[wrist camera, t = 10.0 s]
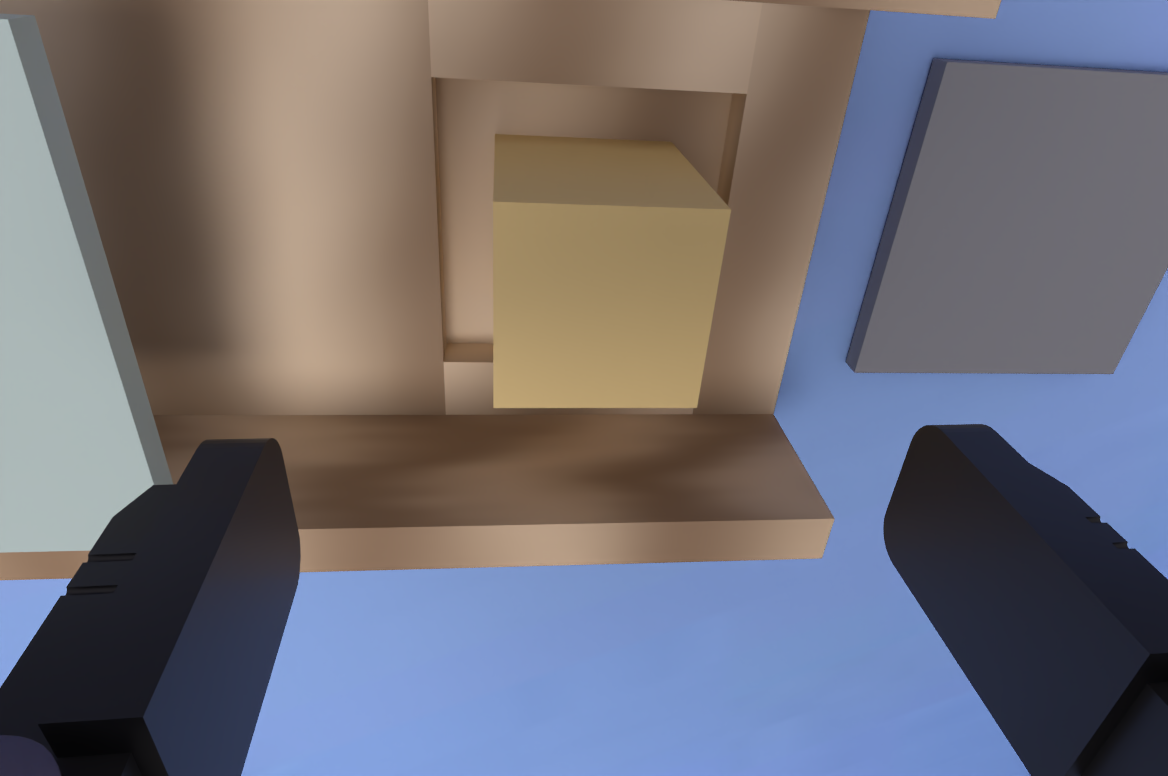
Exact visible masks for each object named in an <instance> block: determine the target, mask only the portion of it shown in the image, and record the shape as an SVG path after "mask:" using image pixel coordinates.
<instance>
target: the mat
mask: <svg viewBox="0 0 1168 776" xmlns="http://www.w3.org/2000/svg"><path fill="white" fill-rule="evenodd" d="M1167 268H1168V73H1166V72H1150V71H1134V70H1117V69H1101V68H1084V67H1068V66H1051V65H1035V64H1018V63H1002V62H986V61H969V60H953V59H936V58H933V62H932V65H931V69H930V72H929V76H928V79H927V83H926V86H925V89H924V93H923V96H922V100H921V103H920V107H919V110H918V114H917V117H916V121H915V124H914V128H913V131H912V134H911V138H910V141H909V145H908V148H907V152H906V155H905V159H904V162H903V166H902V169H901V172H900V176H899V179H898V183H897V186H896V190H895V193H894V197H893V200H892V204H891V207H890V211H889V214H888V217H887V221H886V224H885V228H884V231H883V235H882V238H881V242H880V245H879V249H878V252H877V255H876V259H875V262H874V266H873V269H872V273H871V276H870V280H869V283H868V287H867V290H866V294H865V297H864V300H863V304H862V307H861V311H860V314H859V318H858V321H857V325H856V328H855V332H854V335H853V338H852V342H851V345H850V349H849V352H848V356H847V359H846V363H847V364H848V365H849V367H850V368H851V369H852V370H853V371H854V373H1027V374H1113V373H1114V371H1115V369H1116V367H1117V365H1118V363H1119V361H1120V359H1121V357H1122V355H1123V353H1124V352H1125V350H1126V348H1127V346H1128V344H1129V342H1130V340H1131V338H1132V336H1133V334H1134V332H1135V330H1136V328H1137V326H1138V324H1139V322H1140V320H1141V319H1142V317H1143V315H1144V313H1145V311H1146V309H1147V307H1148V305H1149V303H1150V301H1151V299H1152V297H1153V295H1154V293H1155V291H1156V289H1157V287H1158V286H1159V284H1160V282H1161V280H1162V278H1163V276H1164V274H1165V272H1166V270H1167Z"/></svg>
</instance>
